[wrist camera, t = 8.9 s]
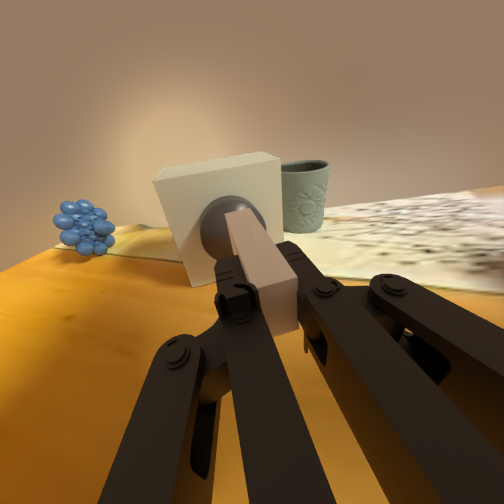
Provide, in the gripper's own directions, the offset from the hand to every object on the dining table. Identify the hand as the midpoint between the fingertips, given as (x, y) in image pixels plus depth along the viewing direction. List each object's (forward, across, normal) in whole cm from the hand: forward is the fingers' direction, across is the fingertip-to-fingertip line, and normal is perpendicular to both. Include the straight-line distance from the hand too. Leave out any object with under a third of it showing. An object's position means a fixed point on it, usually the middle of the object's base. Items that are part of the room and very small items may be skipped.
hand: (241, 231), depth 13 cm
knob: (+16, 0, -10) cm, 19 cm away
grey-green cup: (+27, +16, -16) cm, 35 cm away
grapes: (+32, -25, -15) cm, 43 cm away
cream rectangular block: (+18, 0, -15) cm, 24 cm away
